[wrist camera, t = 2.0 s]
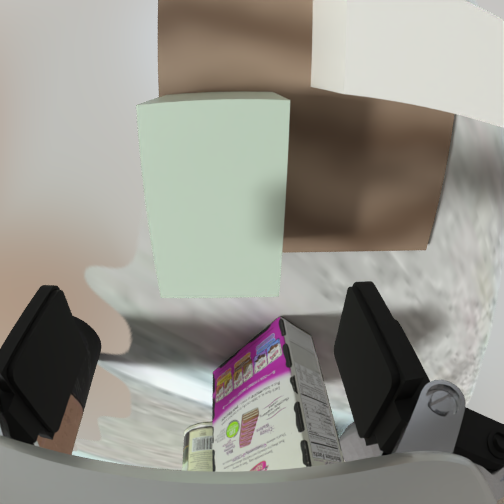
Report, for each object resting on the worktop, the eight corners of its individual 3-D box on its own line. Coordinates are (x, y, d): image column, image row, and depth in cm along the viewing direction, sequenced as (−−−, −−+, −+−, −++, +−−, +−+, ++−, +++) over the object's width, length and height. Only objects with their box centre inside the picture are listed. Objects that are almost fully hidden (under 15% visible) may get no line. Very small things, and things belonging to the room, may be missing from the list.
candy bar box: (246, 386, 36) (253, 515, 22) (211, 370, 35) (208, 509, 21) (315, 334, 32) (352, 483, 18) (280, 313, 31) (308, 478, 17)
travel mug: (108, 328, 31) (56, 510, 14) (99, 367, 34) (60, 519, 17) (45, 300, 29) (-34, 465, 12) (44, 343, 32) (-12, 486, 15)
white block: (310, 86, 19) (343, 94, 13) (312, -8, 16) (345, -38, 10) (445, 108, 20) (504, 128, 14) (450, 25, 16) (511, 24, 10)
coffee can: (220, 453, 47) (221, 526, 35) (170, 434, 43) (164, 516, 31) (265, 435, 44) (272, 518, 32) (214, 414, 40) (213, 509, 28)
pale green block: (166, 94, 19) (136, 105, 13) (272, 92, 19) (290, 100, 13) (177, 240, 25) (160, 297, 19) (268, 238, 25) (278, 296, 19)
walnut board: (161, -13, 16) (158, -17, 15) (452, 21, 17) (459, 21, 16) (174, 247, 26) (172, 254, 25) (420, 244, 27) (425, 250, 26)
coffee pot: (394, 429, 48) (416, 499, 35) (333, 446, 49) (348, 519, 36) (415, 361, 37) (456, 457, 24) (332, 384, 37) (358, 492, 25)
